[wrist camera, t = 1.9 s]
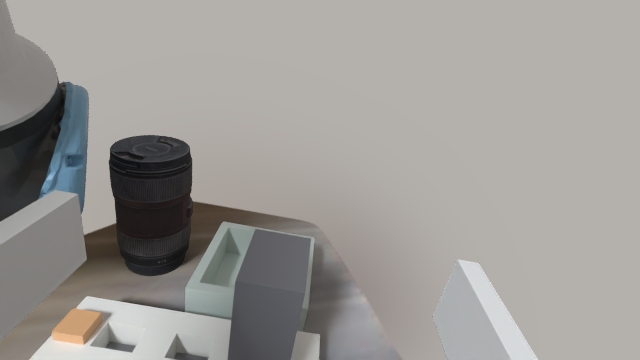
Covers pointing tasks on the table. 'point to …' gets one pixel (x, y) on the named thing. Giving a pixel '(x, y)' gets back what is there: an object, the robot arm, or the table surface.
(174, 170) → the camera lens
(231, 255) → the bin
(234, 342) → the tall grey pillar
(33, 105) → the robot arm
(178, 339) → the strip
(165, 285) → the table surface
